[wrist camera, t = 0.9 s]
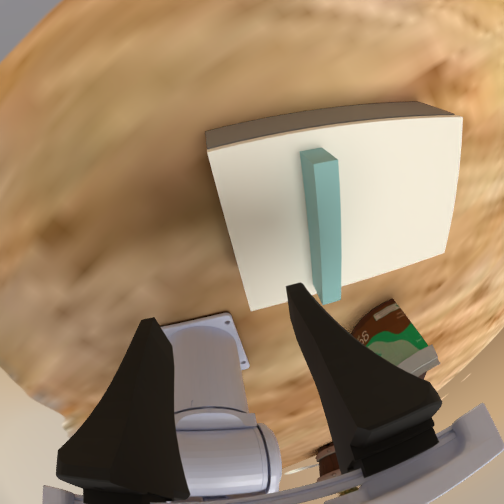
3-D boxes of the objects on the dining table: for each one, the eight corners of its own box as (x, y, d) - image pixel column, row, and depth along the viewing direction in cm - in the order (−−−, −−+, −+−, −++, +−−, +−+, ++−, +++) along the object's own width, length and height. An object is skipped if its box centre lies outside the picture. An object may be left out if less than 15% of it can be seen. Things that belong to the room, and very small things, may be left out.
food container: (344, 305, 29) (385, 386, 21) (394, 289, 29) (442, 360, 21) (338, 366, 36) (364, 430, 28) (379, 352, 37) (409, 411, 28)
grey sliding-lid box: (412, 221, 24) (438, 247, 21) (240, 266, 24) (248, 303, 21) (417, 101, 18) (454, 114, 14) (205, 131, 17) (206, 148, 14)
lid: (440, 249, 21) (458, 267, 19) (249, 306, 20) (255, 333, 18) (457, 115, 14) (484, 126, 12) (206, 149, 14) (208, 165, 12)
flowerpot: (311, 444, 58) (332, 516, 42) (370, 426, 60) (395, 493, 43) (305, 458, 66) (321, 518, 50) (355, 443, 68) (375, 500, 52)
